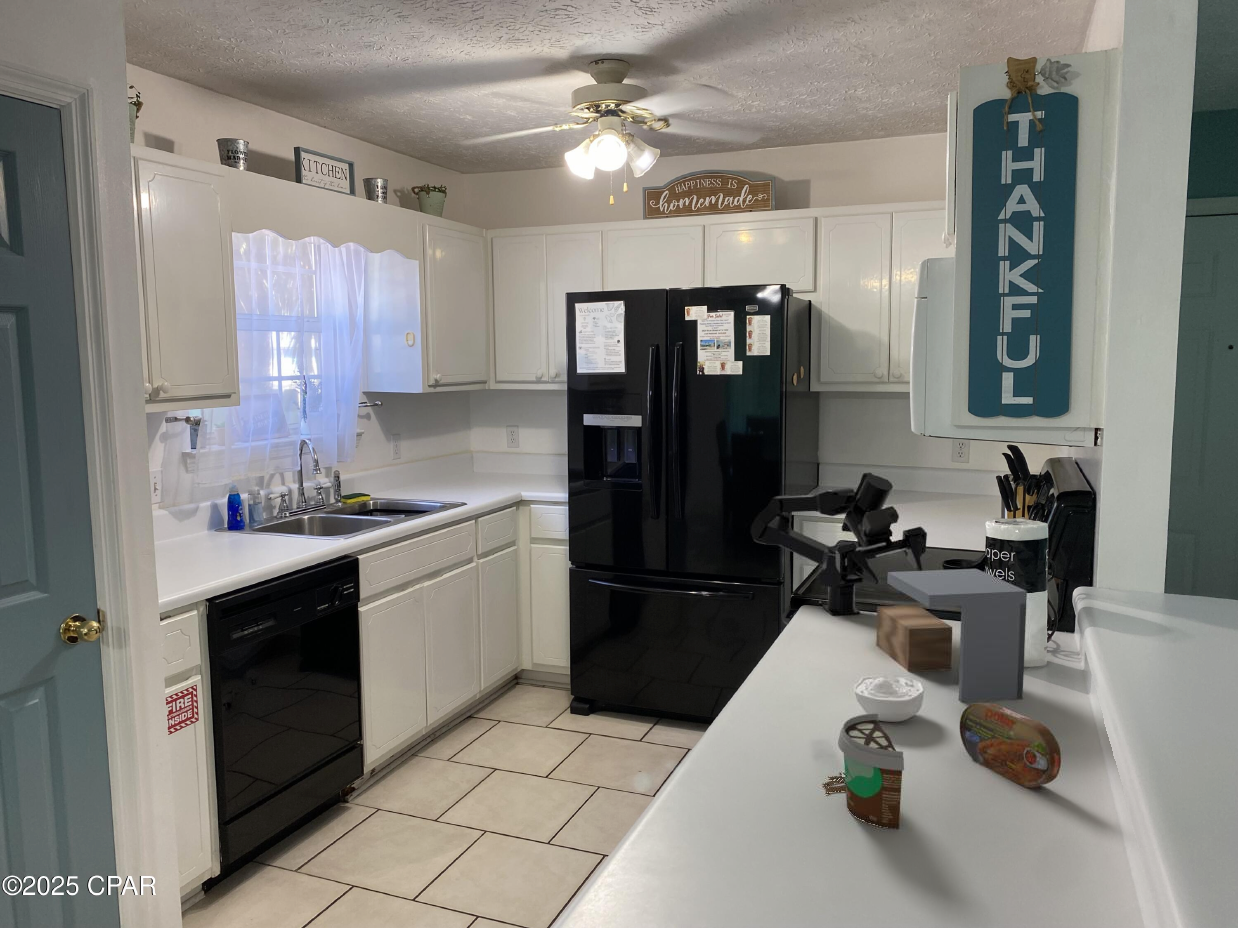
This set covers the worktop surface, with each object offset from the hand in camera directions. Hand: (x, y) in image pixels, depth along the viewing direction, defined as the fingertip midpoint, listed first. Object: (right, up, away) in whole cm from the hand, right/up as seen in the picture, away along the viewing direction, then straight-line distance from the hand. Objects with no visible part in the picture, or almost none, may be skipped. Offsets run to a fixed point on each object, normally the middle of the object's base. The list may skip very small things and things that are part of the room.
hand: (899, 576), depth 175 cm
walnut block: (-1, -14, -9) cm, 17 cm away
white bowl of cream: (-13, -17, -37) cm, 43 cm away
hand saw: (-26, -19, -51) cm, 60 cm away
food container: (-25, -21, -65) cm, 73 cm away
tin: (-3, -19, -56) cm, 59 cm away
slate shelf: (+1, -15, -24) cm, 28 cm away
